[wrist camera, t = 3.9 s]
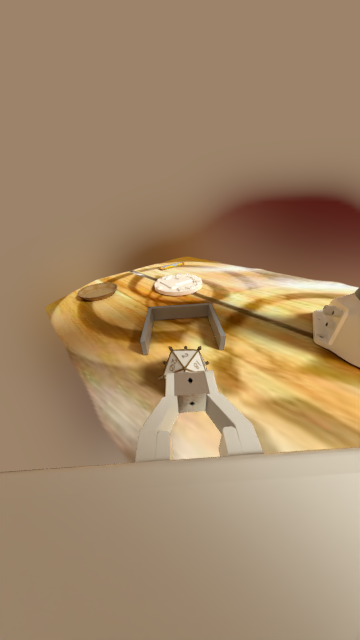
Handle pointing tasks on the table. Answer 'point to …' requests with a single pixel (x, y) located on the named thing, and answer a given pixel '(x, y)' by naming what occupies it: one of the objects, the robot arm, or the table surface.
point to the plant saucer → (97, 291)
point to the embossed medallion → (178, 284)
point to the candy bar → (171, 266)
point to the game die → (184, 361)
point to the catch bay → (179, 313)
